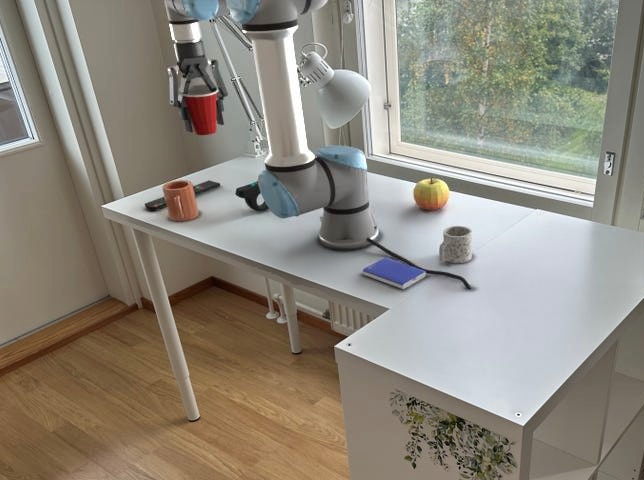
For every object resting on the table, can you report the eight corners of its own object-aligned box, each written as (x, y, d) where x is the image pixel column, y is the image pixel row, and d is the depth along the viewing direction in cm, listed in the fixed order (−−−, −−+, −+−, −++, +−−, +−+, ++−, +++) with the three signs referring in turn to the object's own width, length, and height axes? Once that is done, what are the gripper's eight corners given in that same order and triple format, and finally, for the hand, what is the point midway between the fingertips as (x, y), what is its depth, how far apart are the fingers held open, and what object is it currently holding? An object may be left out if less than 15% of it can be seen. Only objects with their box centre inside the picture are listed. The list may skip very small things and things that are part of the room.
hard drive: (362, 269, 165) (402, 283, 158) (386, 256, 170) (425, 270, 163) (362, 275, 166) (402, 290, 159) (386, 262, 171) (426, 276, 164)
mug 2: (455, 249, 176) (454, 223, 172) (477, 255, 172) (477, 230, 168) (429, 263, 170) (428, 237, 166) (451, 270, 166) (451, 244, 162)
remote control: (220, 187, 220) (219, 183, 219) (154, 212, 205) (153, 208, 204) (210, 184, 223) (209, 180, 222) (143, 208, 208) (142, 204, 207)
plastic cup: (203, 140, 194) (193, 94, 187) (178, 134, 199) (168, 90, 193) (234, 130, 201) (226, 86, 194) (210, 125, 206) (201, 82, 200)
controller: (282, 206, 204) (277, 172, 199) (245, 219, 198) (239, 184, 192) (274, 203, 207) (269, 169, 202) (237, 215, 200) (230, 180, 195)
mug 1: (170, 212, 204) (163, 182, 199) (199, 209, 205) (192, 178, 200) (167, 227, 195) (159, 195, 190) (197, 223, 196) (190, 192, 191)
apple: (443, 198, 205) (443, 171, 200) (453, 210, 197) (453, 182, 192) (410, 203, 203) (409, 175, 198) (419, 215, 195) (418, 187, 190)
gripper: (218, 33, 195) (233, 117, 207) (142, 45, 183) (163, 133, 196) (231, 35, 190) (246, 122, 202) (154, 48, 179) (175, 138, 191)
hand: (205, 127), depth 199 cm, fingers closed on plastic cup, 9 cm apart
